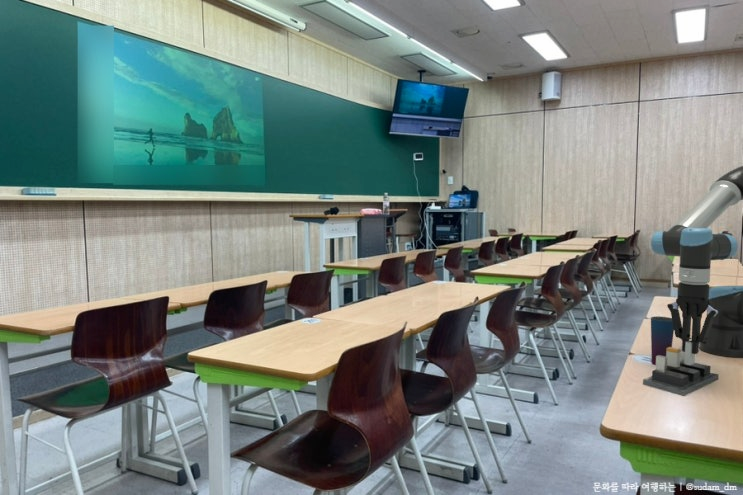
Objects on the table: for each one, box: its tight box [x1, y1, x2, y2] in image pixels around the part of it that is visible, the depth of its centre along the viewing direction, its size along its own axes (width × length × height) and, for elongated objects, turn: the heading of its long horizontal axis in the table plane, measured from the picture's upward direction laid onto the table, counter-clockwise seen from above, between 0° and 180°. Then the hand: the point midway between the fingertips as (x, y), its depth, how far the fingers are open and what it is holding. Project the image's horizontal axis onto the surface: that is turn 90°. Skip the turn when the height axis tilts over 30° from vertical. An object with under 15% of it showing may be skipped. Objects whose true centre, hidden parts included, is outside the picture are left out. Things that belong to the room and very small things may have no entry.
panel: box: [642, 346, 720, 397], centre depth 151 cm, size 22×11×8 cm, turn 126°
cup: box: [650, 315, 675, 366], centre depth 167 cm, size 7×7×15 cm
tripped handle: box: [666, 346, 681, 368], centre depth 152 cm, size 2×3×5 cm
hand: (689, 363), depth 149 cm, fingers closed
